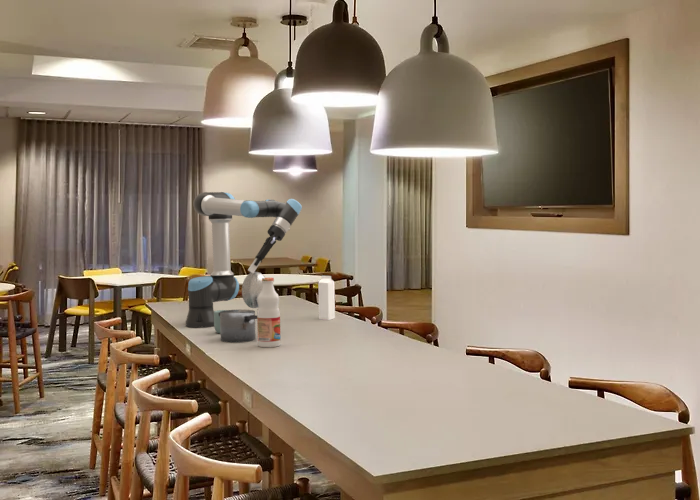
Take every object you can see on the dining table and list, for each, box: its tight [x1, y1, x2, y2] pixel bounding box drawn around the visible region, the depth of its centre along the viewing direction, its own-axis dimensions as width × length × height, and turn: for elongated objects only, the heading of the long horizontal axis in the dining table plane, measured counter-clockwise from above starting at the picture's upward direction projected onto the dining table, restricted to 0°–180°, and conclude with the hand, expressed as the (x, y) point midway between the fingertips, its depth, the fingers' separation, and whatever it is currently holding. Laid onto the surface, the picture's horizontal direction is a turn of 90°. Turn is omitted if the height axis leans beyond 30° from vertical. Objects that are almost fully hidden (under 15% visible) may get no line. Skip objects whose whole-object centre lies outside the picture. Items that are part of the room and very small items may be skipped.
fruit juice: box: [256, 277, 282, 348], centre depth 315 cm, size 9×9×28 cm
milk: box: [317, 275, 336, 321], centre depth 388 cm, size 6×6×22 cm
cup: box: [213, 309, 227, 334], centre depth 350 cm, size 8×8×10 cm
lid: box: [241, 271, 266, 309], centre depth 340 cm, size 16×16×3 cm
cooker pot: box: [219, 309, 257, 343], centre depth 332 cm, size 15×20×12 cm
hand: (250, 271), depth 338 cm, fingers closed
